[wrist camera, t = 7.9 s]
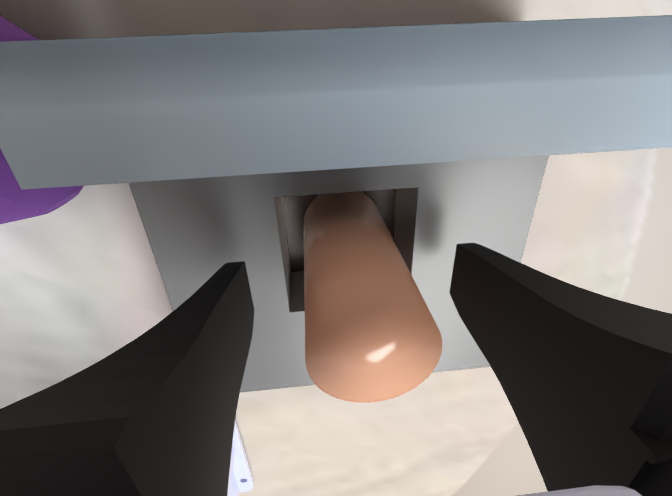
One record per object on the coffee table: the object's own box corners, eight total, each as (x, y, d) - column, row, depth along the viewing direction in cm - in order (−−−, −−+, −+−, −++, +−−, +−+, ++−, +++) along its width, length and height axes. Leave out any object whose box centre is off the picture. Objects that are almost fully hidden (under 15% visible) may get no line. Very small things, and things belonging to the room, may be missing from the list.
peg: (381, 251, 17) (439, 392, 10) (309, 261, 16) (315, 410, 9) (377, 182, 15) (446, 292, 8) (297, 192, 15) (294, 313, 8)
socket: (467, 324, 19) (543, 446, 13) (216, 348, 19) (175, 490, 12) (523, 35, 13) (734, 12, 6) (130, 51, 12) (-54, 43, 6)
